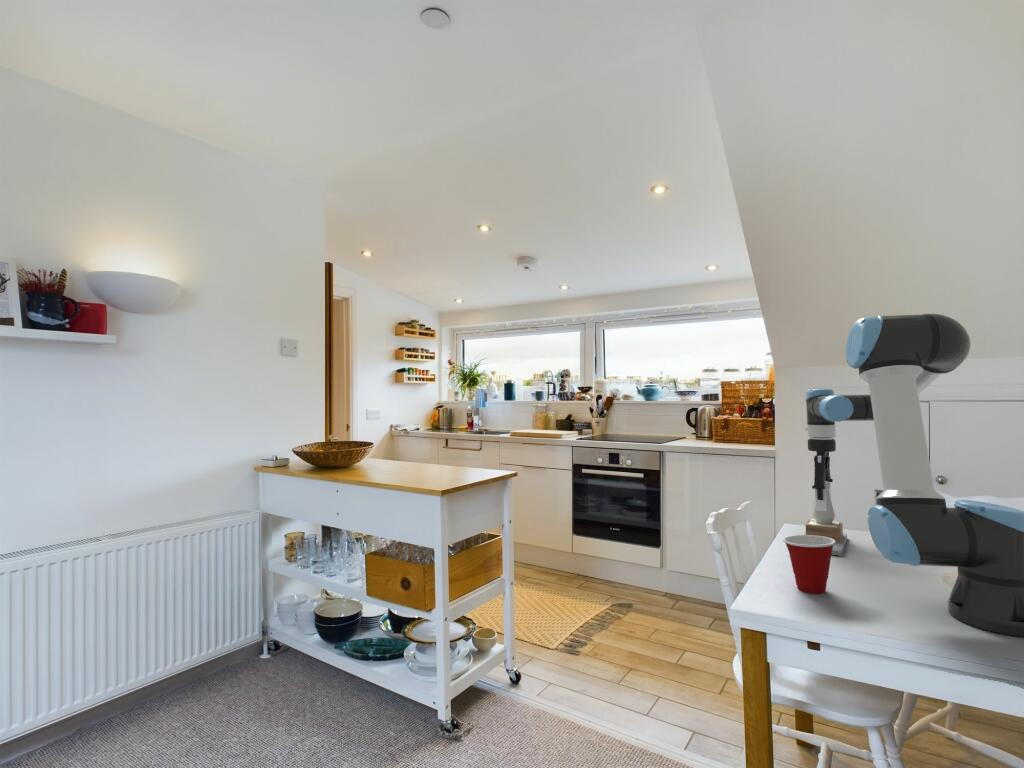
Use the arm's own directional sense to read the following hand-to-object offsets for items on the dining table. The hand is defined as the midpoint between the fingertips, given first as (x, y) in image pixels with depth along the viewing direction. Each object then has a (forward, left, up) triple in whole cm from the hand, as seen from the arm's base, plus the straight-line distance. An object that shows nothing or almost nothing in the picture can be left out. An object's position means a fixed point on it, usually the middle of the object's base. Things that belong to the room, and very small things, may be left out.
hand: (823, 506), depth 162 cm
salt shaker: (0, 0, -5) cm, 5 cm away
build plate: (-4, -1, -11) cm, 11 cm away
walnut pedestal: (0, 0, -9) cm, 9 cm away
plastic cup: (-44, -18, -11) cm, 49 cm away
